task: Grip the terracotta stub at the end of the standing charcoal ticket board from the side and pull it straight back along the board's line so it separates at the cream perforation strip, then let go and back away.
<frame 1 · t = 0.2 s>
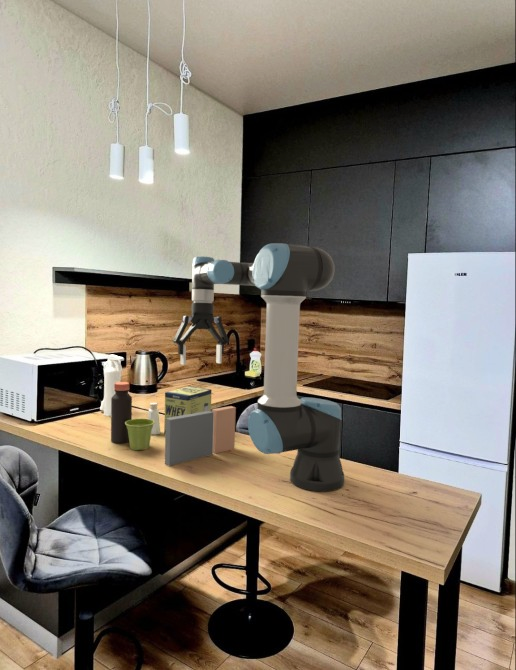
hand: (201, 363, 166), 27 cm above the worktop, tool pointing down, fingers open, 13 cm apart
ticket board: (189, 459, 148), on the worktop
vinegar: (121, 441, 165), on the worktop
stub: (223, 429, 157), point 7 cm above the worktop, slide at 0.0 cm
plant pot: (139, 448, 158), on the worktop
pepper shaker: (153, 433, 175), on the worktop
white spray bottle: (110, 414, 199), on the worktop
protein box: (187, 432, 178), on the worktop
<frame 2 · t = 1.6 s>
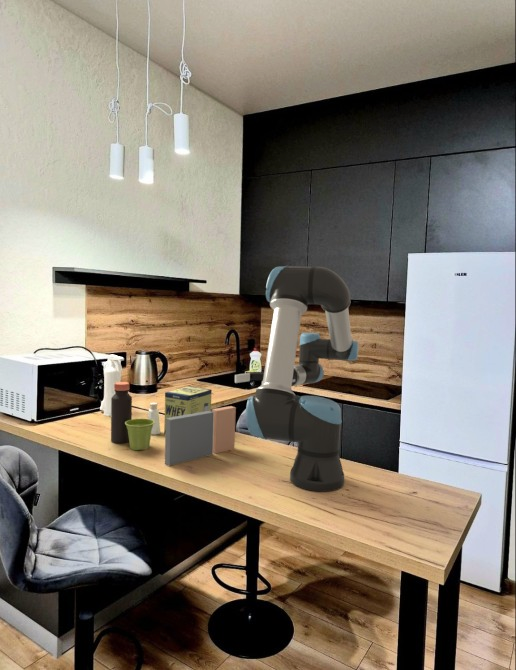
hand: (248, 382, 163), 22 cm above the worktop, tool horizontal, fingers open, 13 cm apart
nothing on the worktop moved.
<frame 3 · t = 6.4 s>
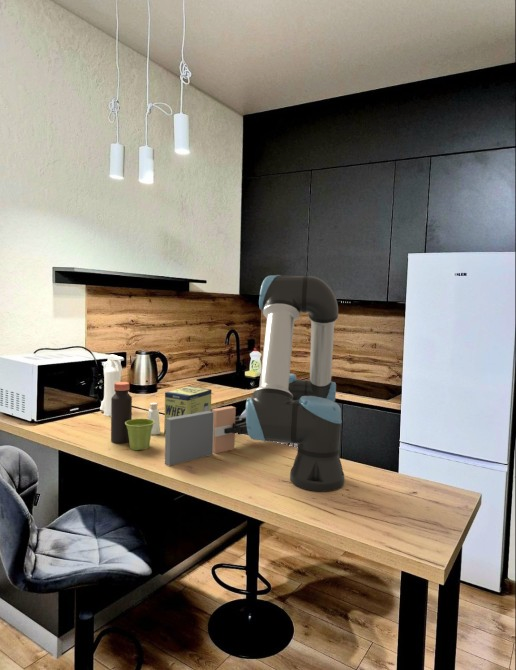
hand: (212, 431, 154), 8 cm above the worktop, tool horizontal, fingers closed on stub, 2 cm apart
stub: (223, 429, 157), point 7 cm above the worktop, slide at 0.0 cm, touching gripper
everything else where it was.
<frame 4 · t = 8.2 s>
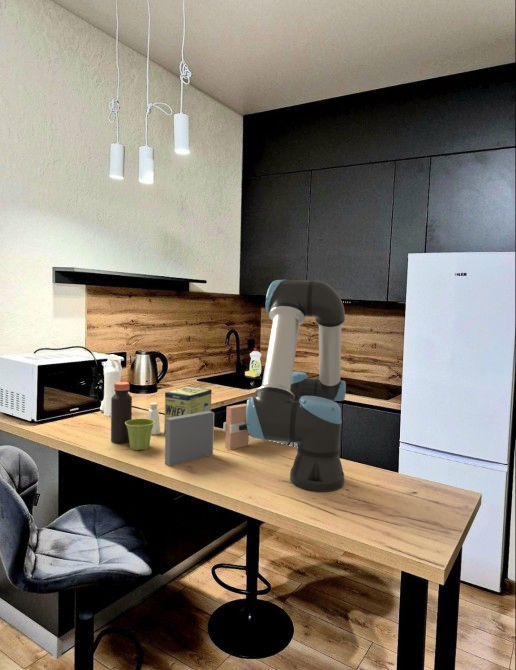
hand: (227, 427, 158), 8 cm above the worktop, tool horizontal, fingers closed on stub, 3 cm apart
stub: (237, 426, 161), point 7 cm above the worktop, slide at 6.2 cm, touching gripper
everything else where it was.
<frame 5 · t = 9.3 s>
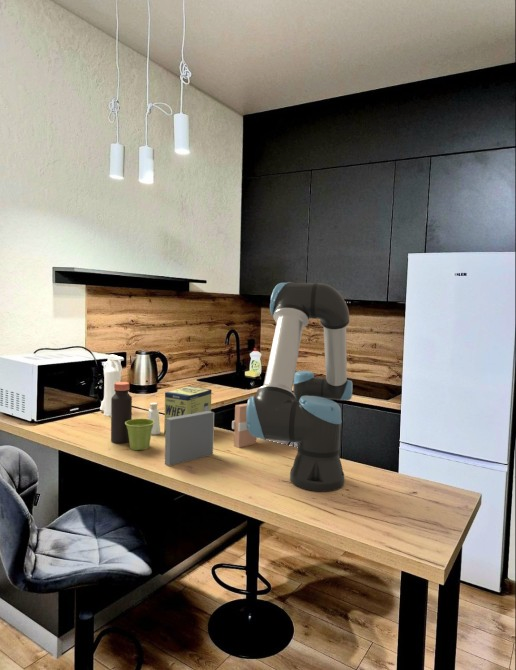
hand: (235, 426, 161), 8 cm above the worktop, tool horizontal, fingers closed on stub, 2 cm apart
stub: (245, 424, 164), point 7 cm above the worktop, slide at 9.9 cm, touching gripper
everything else where it was.
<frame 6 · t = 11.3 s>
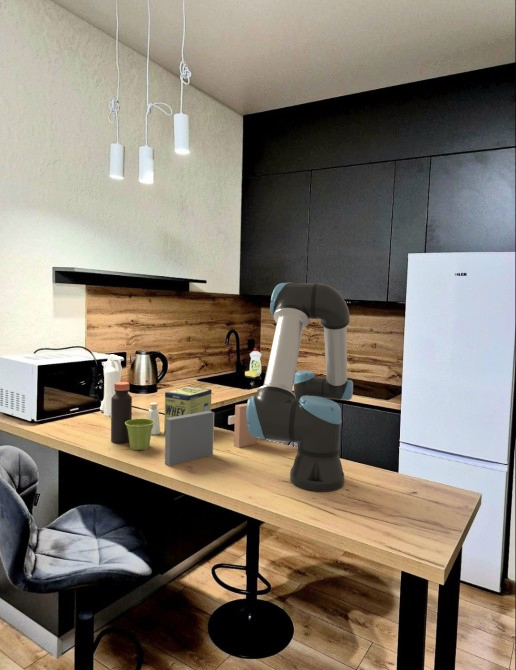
hand: (241, 424, 162), 8 cm above the worktop, tool horizontal, fingers open, 13 cm apart
stub: (246, 424, 164), point 7 cm above the worktop, slide at 10.0 cm
everything else where it was.
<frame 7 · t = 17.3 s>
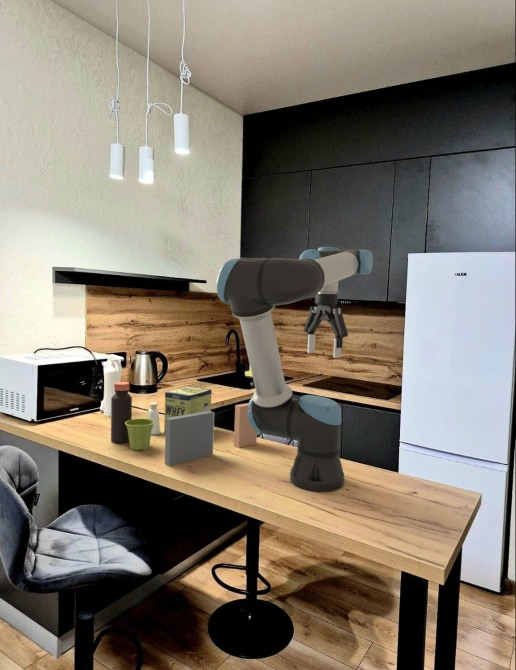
hand: (323, 355, 165), 32 cm above the worktop, tool pointing down, fingers open, 13 cm apart
nothing on the worktop moved.
at the end: stub slide at 10.0 cm; the gripper is holding nothing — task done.
